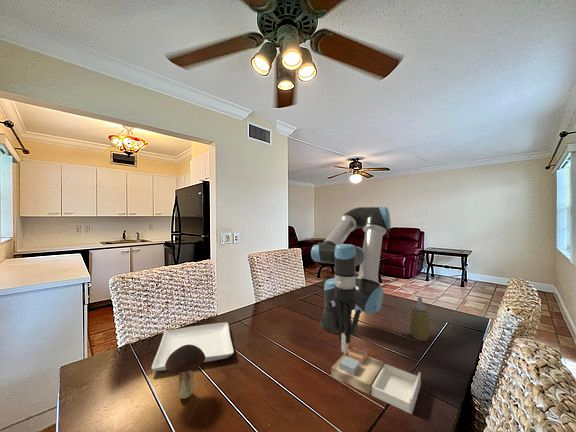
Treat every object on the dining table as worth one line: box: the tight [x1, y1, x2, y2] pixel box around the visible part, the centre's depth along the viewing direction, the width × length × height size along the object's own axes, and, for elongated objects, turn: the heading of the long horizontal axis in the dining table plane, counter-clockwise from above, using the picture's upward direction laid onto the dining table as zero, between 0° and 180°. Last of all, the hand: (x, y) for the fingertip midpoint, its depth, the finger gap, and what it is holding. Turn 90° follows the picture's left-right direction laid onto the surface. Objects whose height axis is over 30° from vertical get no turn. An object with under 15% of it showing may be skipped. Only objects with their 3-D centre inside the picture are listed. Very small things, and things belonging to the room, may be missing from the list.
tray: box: [370, 363, 422, 415], centre depth 72 cm, size 11×14×4 cm
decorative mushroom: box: [165, 345, 205, 400], centre depth 69 cm, size 11×11×15 cm
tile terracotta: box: [348, 347, 368, 364], centre depth 83 cm, size 5×5×2 cm
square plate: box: [151, 321, 235, 372], centre depth 95 cm, size 27×27×4 cm
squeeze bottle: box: [409, 296, 431, 342], centre depth 103 cm, size 8×8×18 cm
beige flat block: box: [330, 348, 385, 395], centre depth 80 cm, size 13×14×3 cm
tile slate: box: [339, 356, 360, 375], centre depth 78 cm, size 5×5×2 cm
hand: (344, 350), depth 86 cm, fingers closed
